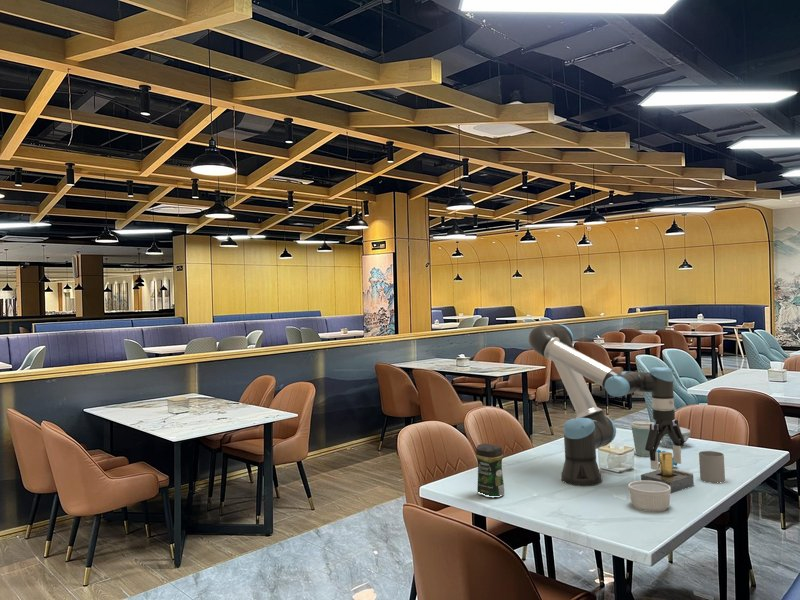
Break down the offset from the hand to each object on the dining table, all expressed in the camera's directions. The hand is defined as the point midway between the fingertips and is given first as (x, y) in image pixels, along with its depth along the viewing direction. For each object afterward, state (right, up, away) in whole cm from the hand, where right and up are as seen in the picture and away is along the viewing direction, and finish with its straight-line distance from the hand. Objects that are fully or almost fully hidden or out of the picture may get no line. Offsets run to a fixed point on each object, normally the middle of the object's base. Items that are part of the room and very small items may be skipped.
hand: (666, 466), depth 216 cm
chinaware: (+30, -8, +59) cm, 66 cm away
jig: (0, -7, 0) cm, 7 cm away
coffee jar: (-66, -10, -3) cm, 67 cm away
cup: (+20, -7, +4) cm, 21 cm away
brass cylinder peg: (0, -7, 0) cm, 7 cm away
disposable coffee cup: (+11, -8, +45) cm, 47 cm away
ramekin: (-15, -8, -21) cm, 27 cm away
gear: (+11, -8, +25) cm, 28 cm away
